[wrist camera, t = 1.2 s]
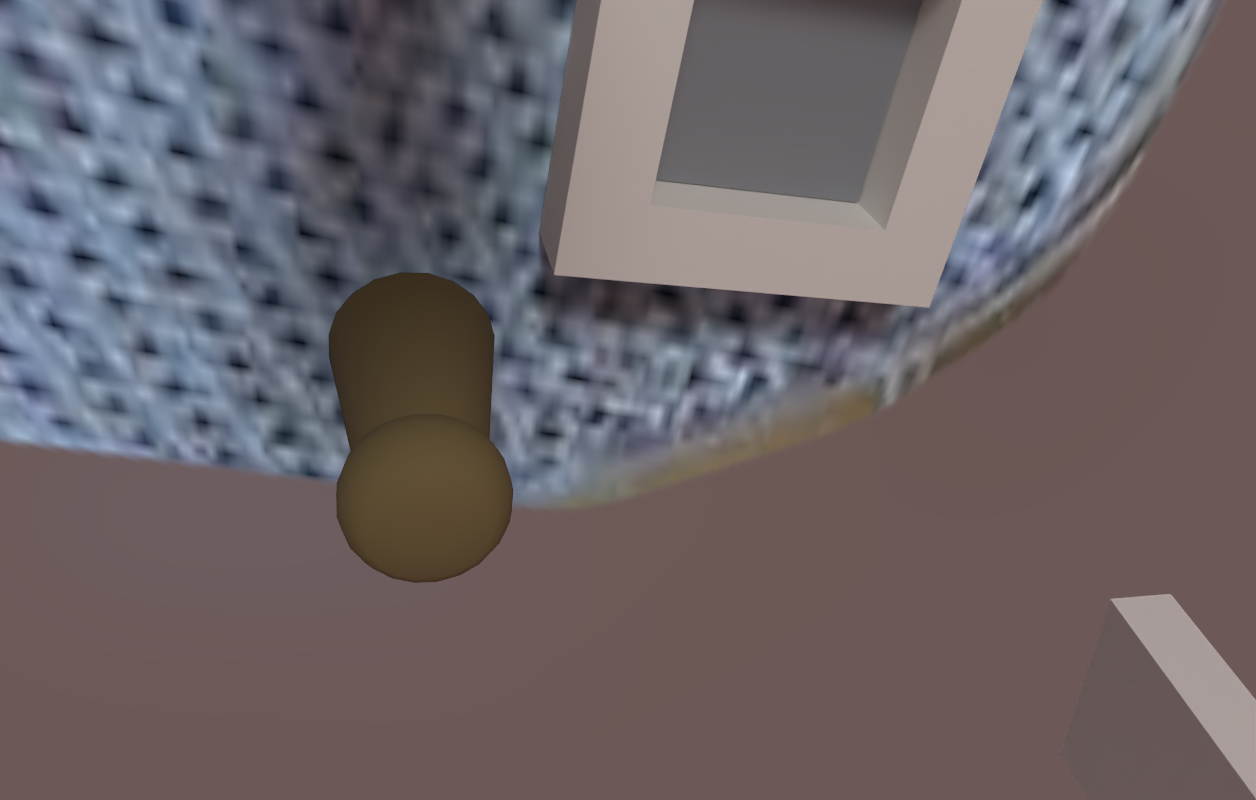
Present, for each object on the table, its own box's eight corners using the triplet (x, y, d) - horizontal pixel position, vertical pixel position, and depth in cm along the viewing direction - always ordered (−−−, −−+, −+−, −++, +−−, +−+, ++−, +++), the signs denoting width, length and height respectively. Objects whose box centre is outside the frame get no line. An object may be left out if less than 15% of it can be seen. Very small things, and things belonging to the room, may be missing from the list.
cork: (445, 436, 42) (468, 636, 33) (299, 377, 40) (281, 577, 31) (524, 315, 40) (572, 494, 31) (376, 243, 37) (382, 417, 28)
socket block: (539, 232, 38) (554, 275, 36) (610, -212, 31) (635, -202, 29) (890, 266, 42) (929, 307, 39) (1023, -122, 35) (1082, -107, 32)
